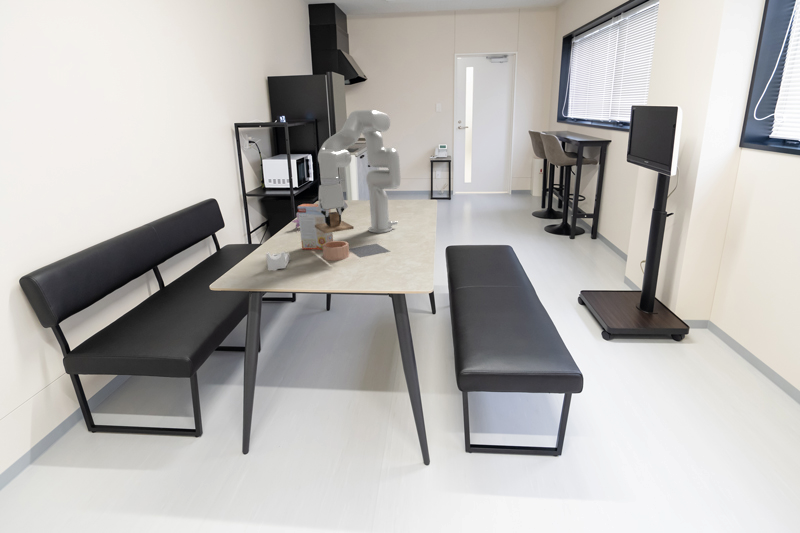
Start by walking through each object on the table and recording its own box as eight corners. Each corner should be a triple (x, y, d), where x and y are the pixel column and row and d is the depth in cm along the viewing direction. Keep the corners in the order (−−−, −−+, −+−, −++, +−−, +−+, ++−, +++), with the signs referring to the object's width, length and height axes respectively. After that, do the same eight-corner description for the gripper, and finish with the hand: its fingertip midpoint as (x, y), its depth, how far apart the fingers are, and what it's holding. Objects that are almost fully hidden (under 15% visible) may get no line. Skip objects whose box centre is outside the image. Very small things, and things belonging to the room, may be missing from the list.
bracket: (285, 270, 194) (283, 252, 191) (268, 271, 193) (265, 254, 191) (290, 260, 206) (288, 244, 203) (273, 261, 205) (271, 244, 203)
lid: (342, 222, 210) (341, 208, 208) (353, 228, 199) (352, 213, 197) (314, 227, 204) (313, 212, 202) (324, 233, 193) (323, 218, 191)
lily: (319, 228, 261) (314, 212, 262) (312, 225, 249) (307, 208, 250) (299, 235, 262) (294, 219, 263) (292, 232, 250) (287, 216, 251)
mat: (376, 244, 223) (376, 243, 222) (390, 252, 210) (390, 251, 210) (347, 250, 216) (347, 248, 216) (360, 258, 204) (359, 257, 203)
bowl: (343, 252, 213) (342, 239, 211) (352, 258, 204) (352, 245, 202) (320, 256, 209) (319, 243, 207) (329, 263, 199) (327, 249, 197)
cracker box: (334, 247, 221) (330, 204, 214) (328, 251, 215) (324, 206, 209) (308, 245, 225) (303, 203, 218) (301, 249, 220) (296, 205, 213)
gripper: (345, 178, 202) (348, 220, 208) (307, 182, 195) (312, 225, 201) (352, 180, 196) (354, 223, 202) (313, 184, 188) (317, 228, 194)
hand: (333, 223), depth 201 cm, fingers closed on lid, 4 cm apart
